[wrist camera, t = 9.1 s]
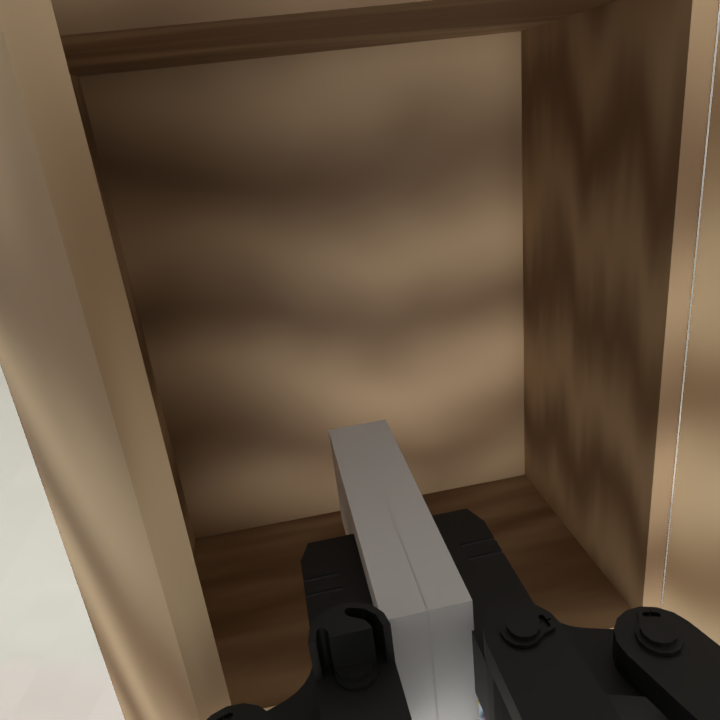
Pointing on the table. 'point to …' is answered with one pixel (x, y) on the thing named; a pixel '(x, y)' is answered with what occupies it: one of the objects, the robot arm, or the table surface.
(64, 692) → the table surface
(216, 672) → the left flap
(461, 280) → the carton
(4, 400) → the table surface
